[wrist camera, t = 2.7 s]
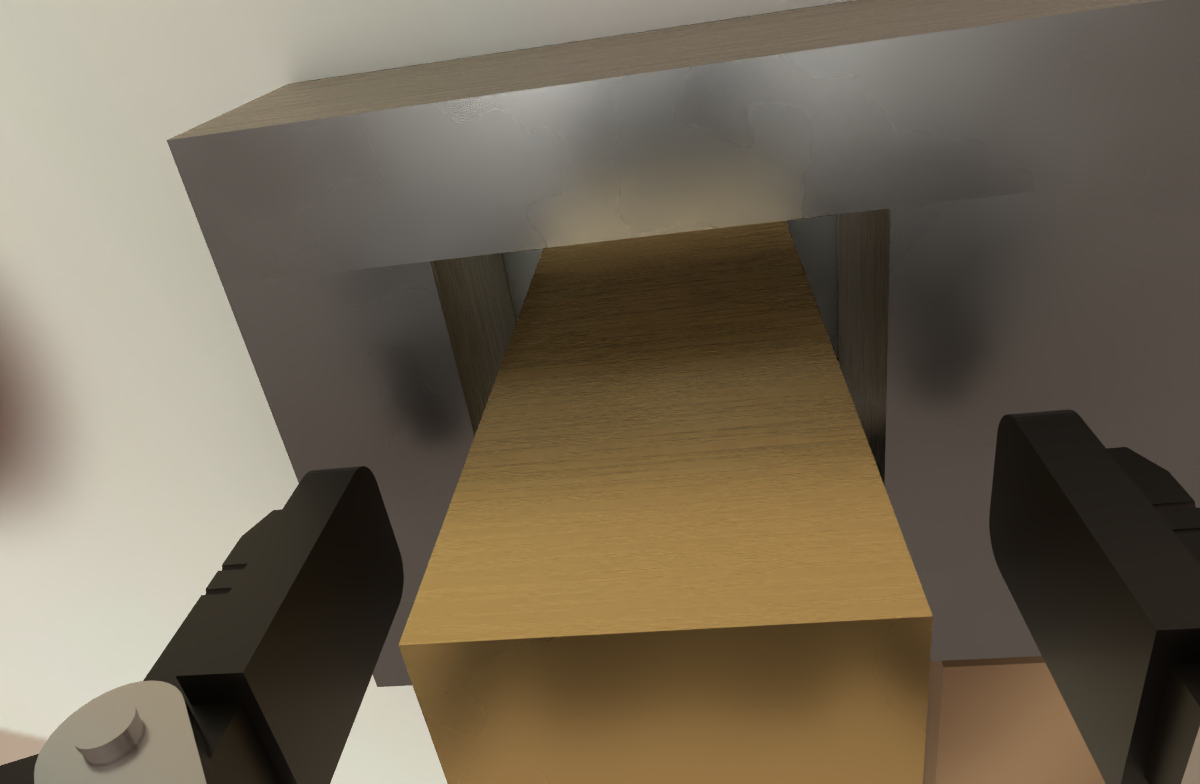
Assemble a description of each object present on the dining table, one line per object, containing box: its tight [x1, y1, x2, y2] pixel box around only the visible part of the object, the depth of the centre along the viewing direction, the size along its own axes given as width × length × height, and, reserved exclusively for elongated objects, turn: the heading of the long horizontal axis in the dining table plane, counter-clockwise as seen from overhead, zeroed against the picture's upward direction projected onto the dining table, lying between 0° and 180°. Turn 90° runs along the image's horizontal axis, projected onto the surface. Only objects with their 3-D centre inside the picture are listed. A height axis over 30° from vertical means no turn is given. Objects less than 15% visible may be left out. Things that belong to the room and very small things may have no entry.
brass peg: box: [398, 221, 933, 784], centre depth 12 cm, size 4×4×10 cm
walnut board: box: [923, 656, 1105, 784], centre depth 20 cm, size 12×9×1 cm
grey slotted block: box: [167, 0, 1200, 687], centre depth 13 cm, size 24×10×4 cm, turn 98°
